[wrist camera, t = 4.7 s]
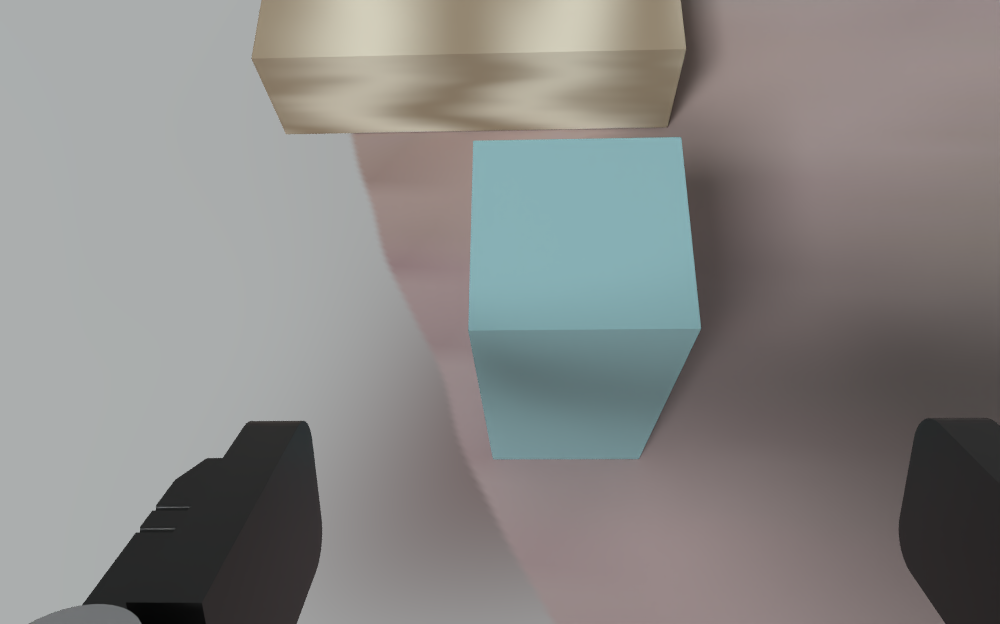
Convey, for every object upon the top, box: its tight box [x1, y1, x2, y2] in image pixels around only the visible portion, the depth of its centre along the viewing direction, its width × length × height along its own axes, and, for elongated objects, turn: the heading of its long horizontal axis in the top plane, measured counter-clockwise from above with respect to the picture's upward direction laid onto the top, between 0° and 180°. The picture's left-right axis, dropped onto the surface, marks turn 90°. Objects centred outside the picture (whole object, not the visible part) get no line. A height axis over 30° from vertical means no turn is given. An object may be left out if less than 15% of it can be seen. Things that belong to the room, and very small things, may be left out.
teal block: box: [468, 137, 701, 459], centre depth 21 cm, size 4×4×10 cm
